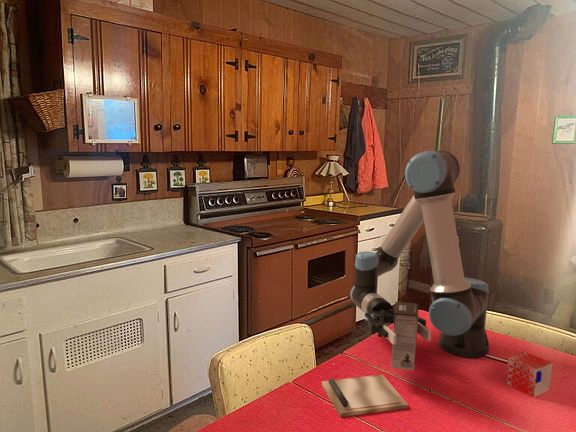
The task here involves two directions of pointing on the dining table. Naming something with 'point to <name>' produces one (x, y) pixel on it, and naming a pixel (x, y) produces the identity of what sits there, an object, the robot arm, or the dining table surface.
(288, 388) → the dining table surface
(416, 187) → the robot arm
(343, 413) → the writing board
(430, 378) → the dining table surface
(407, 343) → the coffee box
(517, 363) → the red patterned cube
